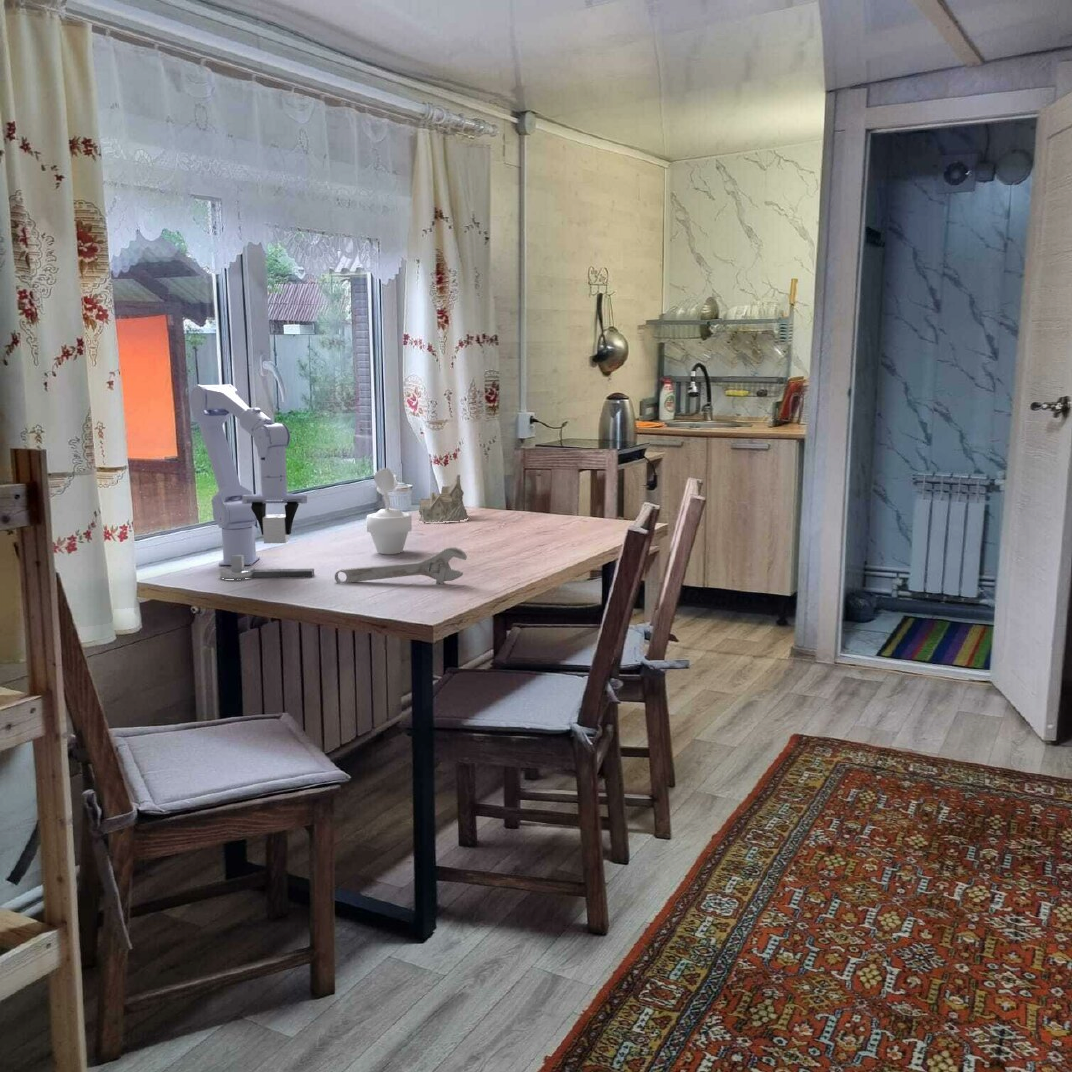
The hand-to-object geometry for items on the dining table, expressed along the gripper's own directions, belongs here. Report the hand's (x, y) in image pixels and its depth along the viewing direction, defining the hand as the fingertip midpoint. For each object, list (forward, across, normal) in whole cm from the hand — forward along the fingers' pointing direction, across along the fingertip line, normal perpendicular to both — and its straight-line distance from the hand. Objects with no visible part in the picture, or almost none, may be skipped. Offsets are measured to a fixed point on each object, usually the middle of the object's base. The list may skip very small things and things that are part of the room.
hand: (276, 534), depth 236 cm
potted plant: (+9, +24, +23) cm, 35 cm away
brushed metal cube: (+2, 0, 0) cm, 2 cm away
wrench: (+9, +30, -15) cm, 34 cm away
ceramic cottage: (+9, +36, +78) cm, 86 cm away
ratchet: (+9, -1, -6) cm, 11 cm away
